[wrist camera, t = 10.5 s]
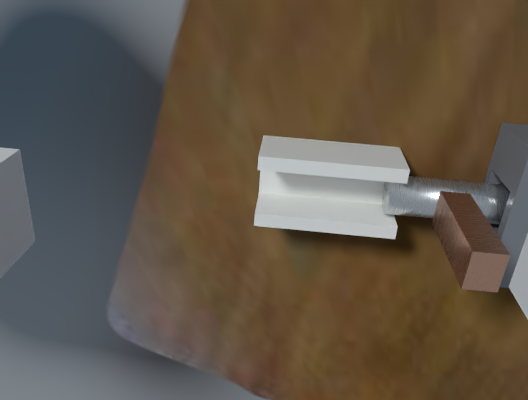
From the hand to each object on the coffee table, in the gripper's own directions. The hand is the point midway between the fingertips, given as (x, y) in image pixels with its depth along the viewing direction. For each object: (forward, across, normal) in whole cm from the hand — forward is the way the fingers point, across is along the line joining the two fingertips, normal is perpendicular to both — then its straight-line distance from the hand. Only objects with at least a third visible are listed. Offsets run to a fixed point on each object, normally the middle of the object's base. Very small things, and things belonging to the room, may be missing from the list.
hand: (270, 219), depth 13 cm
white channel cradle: (+31, +4, -12) cm, 33 cm away
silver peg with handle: (+29, +17, -12) cm, 36 cm away
